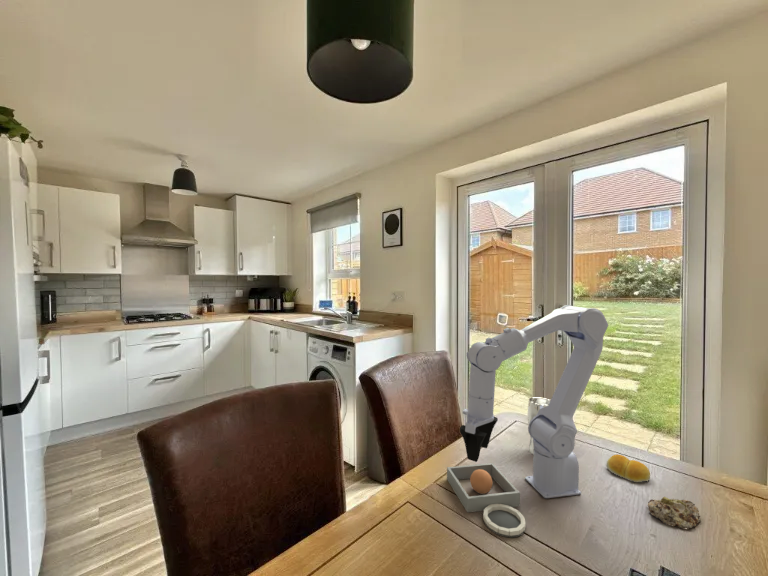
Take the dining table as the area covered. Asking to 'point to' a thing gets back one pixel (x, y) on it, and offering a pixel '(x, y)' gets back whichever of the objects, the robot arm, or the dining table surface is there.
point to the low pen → (482, 501)
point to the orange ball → (481, 481)
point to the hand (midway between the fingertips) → (477, 453)
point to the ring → (504, 520)
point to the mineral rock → (675, 512)
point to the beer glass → (535, 413)
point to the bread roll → (628, 468)
